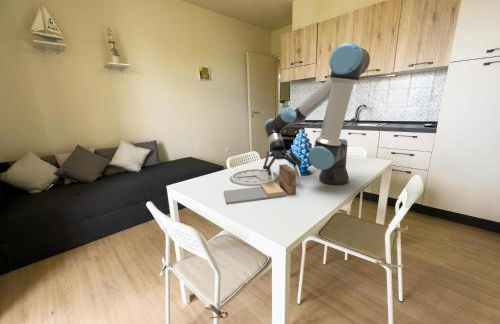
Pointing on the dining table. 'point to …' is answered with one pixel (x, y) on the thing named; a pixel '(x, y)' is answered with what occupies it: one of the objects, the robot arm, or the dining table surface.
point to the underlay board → (254, 193)
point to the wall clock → (253, 177)
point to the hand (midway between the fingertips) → (286, 179)
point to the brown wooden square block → (287, 179)
